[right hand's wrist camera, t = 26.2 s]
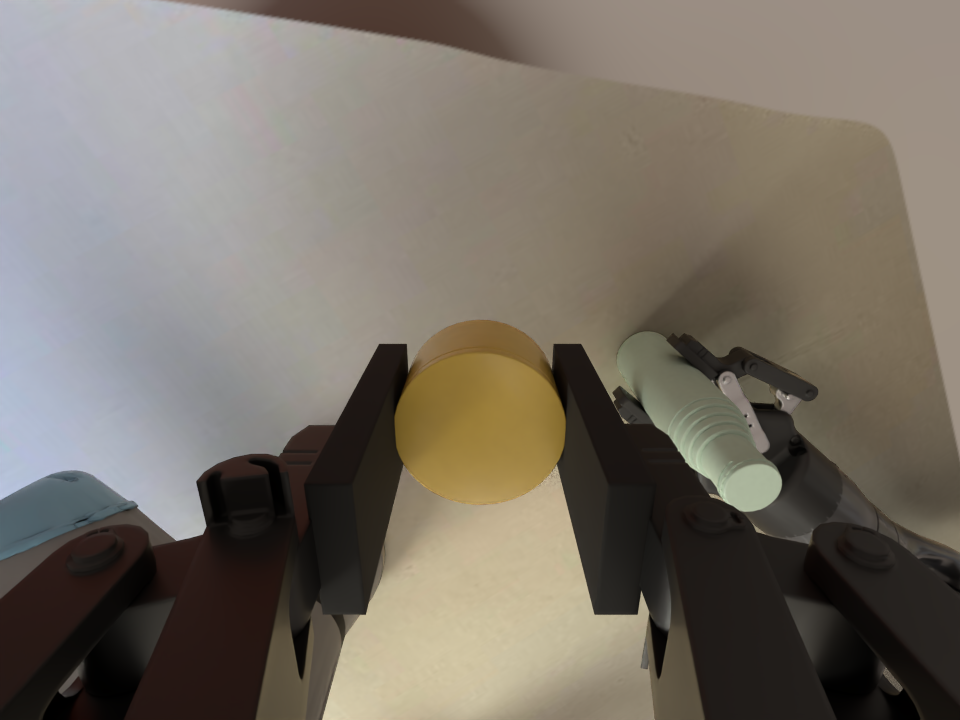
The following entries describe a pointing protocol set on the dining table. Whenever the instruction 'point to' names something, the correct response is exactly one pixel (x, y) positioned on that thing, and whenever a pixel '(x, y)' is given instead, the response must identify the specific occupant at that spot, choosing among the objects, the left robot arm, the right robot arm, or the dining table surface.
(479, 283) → the dining table surface
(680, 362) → the bottle
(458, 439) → the cap
